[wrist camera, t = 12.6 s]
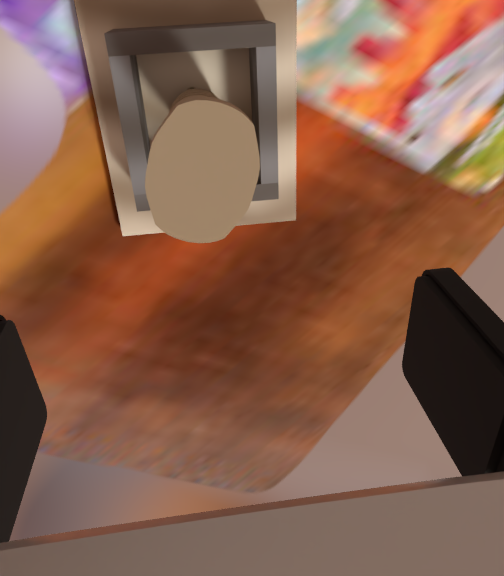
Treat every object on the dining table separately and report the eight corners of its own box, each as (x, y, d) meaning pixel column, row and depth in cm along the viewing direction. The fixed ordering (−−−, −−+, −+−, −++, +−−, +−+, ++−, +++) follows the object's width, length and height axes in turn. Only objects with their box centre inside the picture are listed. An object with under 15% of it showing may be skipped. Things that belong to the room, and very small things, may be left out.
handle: (241, 71, 33) (275, 117, 20) (219, 162, 36) (237, 251, 23) (171, 51, 32) (160, 86, 19) (155, 146, 35) (136, 231, 22)
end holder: (69, -36, 30) (50, -41, 25) (293, -47, 31) (311, -53, 26) (123, 230, 39) (116, 259, 35) (293, 215, 40) (306, 241, 36)
